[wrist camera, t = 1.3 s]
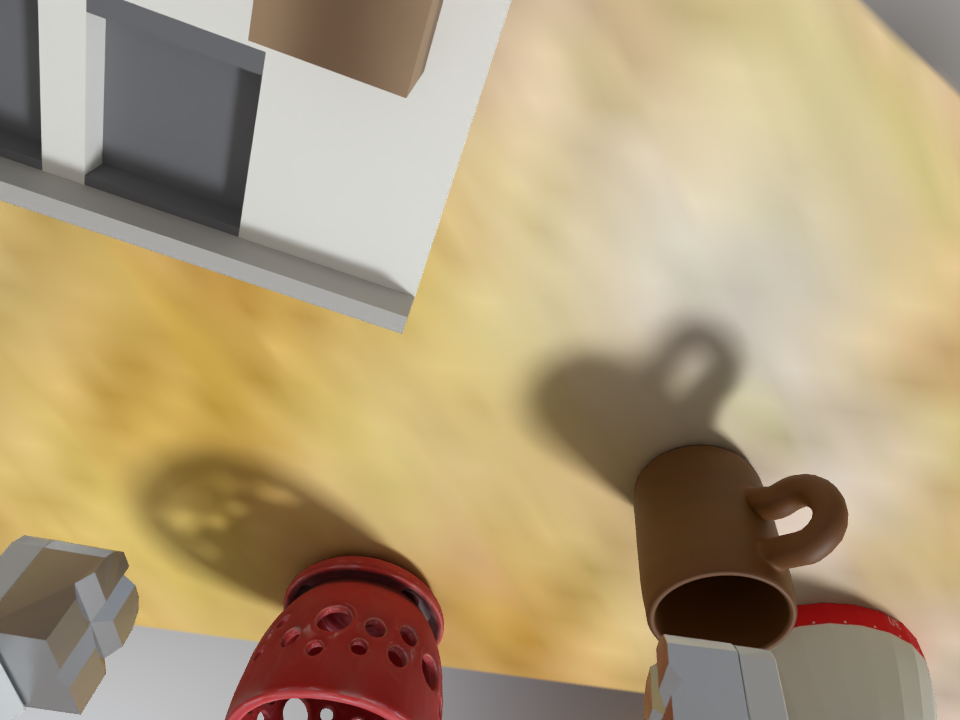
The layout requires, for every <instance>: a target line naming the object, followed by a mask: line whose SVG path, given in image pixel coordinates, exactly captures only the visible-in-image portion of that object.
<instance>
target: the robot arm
mask: <svg viewBox="0 0 960 720" xmlns="http://www.w3.org/2000/svg"><path fill="white" fill-rule="evenodd" d="M128 567H129V565H128V562H127V560H126V557H125V555H124V552H121V551H115V550H109V549H103V548H97V547H91V546H86V545H80V544H74V543H68V542H62V541H58V540H52V539H46V538H39V537H33V536H26V535H24V536H22V537H21V538H19V539H17V540H16V541H14V542H12V543H11V544H10V545H9V547H8V548H7V549H6V550H5V551H4V552H3V553H2V555H1V556H0V720H14V719H15V718H16V717H17V716H18V715H20V714H21V713H23V712H24V711H25V707H32V708H39V709H46V710H53V711H60V712H67V713H74V714H80V715H81V713H82V712H83V710H84V708H85V707H86V705H87V703H88V702H89V700H90V699H91V697H92V695H93V694H94V692H95V690H96V689H97V687H98V685H99V684H100V682H101V681H102V679H103V677H104V676H105V674H106V669H105V660H104V658H105V657H107V656H109V655H110V654H112V653H113V652H115V651H116V650H118V649H119V648H121V647H122V646H123V644H124V643H125V641H126V639H127V638H128V636H129V634H130V632H131V631H132V628H133V626H134V622H135V619H136V616H137V613H138V602H139V596H138V592H137V589H136V586H135V585H134V584H133V583H132V582H131V581H130V580H129V579H128V578H126V577H125V576H124V573H125V572H126V570H127V569H128ZM656 651H657V663H656V664H655V665H653V666H651V667H650V670H649V674H648V677H647V681H646V688H645V695H644V720H789V718H788V714H787V709H786V704H785V700H784V695H783V691H782V686H781V682H780V677H779V672H778V668H777V663H776V659H775V657H774V656H773V654H772V653H771V651H769V650H766V649H758V648H751V647H743V646H736V645H732V644H731V643H724V642H717V641H709V640H702V639H695V638H688V637H680V636H673V635H666V634H663V635H662V636H661V637H660V639H659V642H658V645H657V648H656ZM24 706H25V707H24Z"/></svg>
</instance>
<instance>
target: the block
mask: <svg viewBox="0 0 960 720" xmlns="http://www.w3.org/2000/svg"><path fill="white" fill-rule="evenodd" d="M442 4H443V0H253V7H252V14H251V22H250V29H249V37H248V41H251V42H254V43H256V44H259V45H262V46H265V47H267V48H270V49H273V50H275V51H278V52H281V53H284V54H286V55H289V56H292V57H295V58H297V59H300V60H303V61H305V62H308V63H311V64H314V65H316V66H319V67H322V68H325V69H327V70H330V71H333V72H336V73H338V74H341V75H344V76H346V77H349V78H352V79H355V80H357V81H360V82H363V83H366V84H368V85H371V86H374V87H376V88H379V89H382V90H385V91H387V92H390V93H393V94H396V95H398V96H401V97H404V98H407V96H408V95H409V93H410V92H411V90H412V89H413V87H414V86H415V84H416V83H417V81H418V80H419V78H420V77H421V75H422V74H423V72H424V70H425V66H426V62H427V59H428V55H429V51H430V48H431V44H432V40H433V37H434V33H435V30H436V26H437V22H438V19H439V15H440V11H441V8H442Z"/></svg>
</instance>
